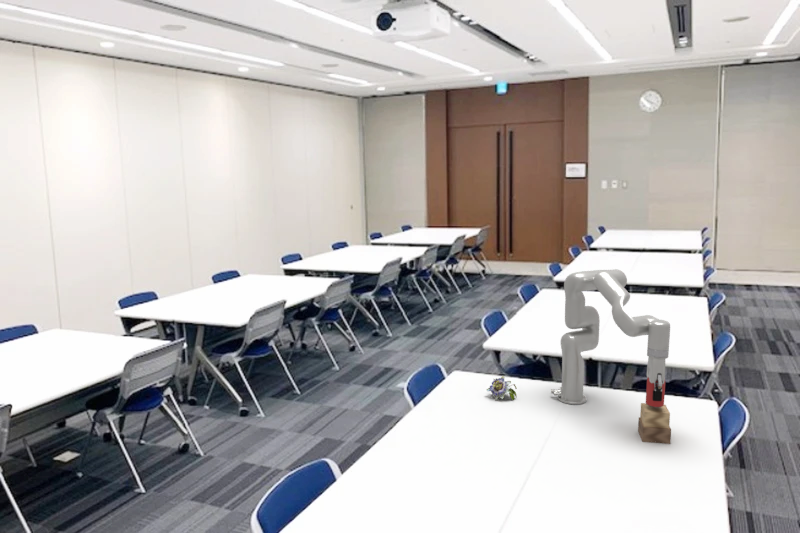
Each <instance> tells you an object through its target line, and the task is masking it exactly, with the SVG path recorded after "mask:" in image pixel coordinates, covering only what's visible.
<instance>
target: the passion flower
mask: <svg viewBox="0 0 800 533" xmlns="http://www.w3.org/2000/svg"><path fill="white" fill-rule="evenodd" d="M510 384H511V385H510ZM512 386H514V388H515V390H517V386H516V384H515V383H513V384H512V381H511V380H507V381H505V376H504V375H502V376H501V377H499V378H497V377H496V378H493V381H492V382H491V385H489V387H488V388H486V391H487V392H491V393H492V394H491V397H492V398H494V400H495V401H498V400H499V398H500V399H502V400H503V399H504V398H505V395H506V394H509V396H510V398H511V400H512V401H515V397H517V393H516V392H517V391H515V390H514V389H513V388H512Z"/></svg>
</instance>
